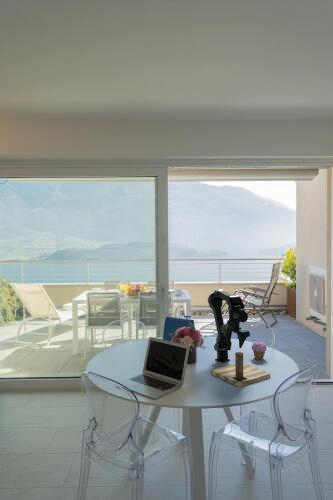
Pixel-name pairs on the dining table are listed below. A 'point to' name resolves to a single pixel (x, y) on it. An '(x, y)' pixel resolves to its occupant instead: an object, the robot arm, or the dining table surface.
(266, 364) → the dining table surface
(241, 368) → the stool leg
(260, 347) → the cupcake
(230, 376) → the stool top
